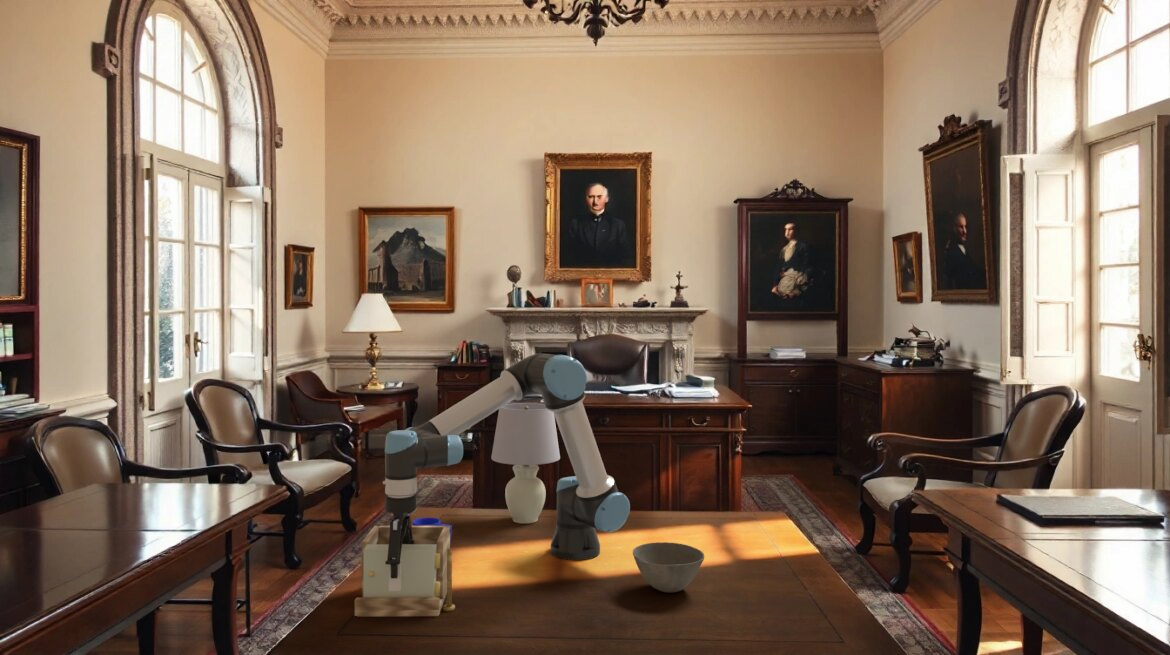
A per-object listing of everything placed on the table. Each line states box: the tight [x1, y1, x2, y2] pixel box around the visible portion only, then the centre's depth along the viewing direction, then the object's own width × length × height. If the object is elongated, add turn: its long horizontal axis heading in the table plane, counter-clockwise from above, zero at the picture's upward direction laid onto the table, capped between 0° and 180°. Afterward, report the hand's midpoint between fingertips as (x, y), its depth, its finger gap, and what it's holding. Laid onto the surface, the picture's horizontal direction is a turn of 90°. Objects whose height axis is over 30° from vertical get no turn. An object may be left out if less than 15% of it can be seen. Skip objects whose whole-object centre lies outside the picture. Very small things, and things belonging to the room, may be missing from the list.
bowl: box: [632, 541, 705, 593], centre depth 208 cm, size 19×19×10 cm
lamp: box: [490, 402, 561, 525], centre depth 273 cm, size 24×24×40 cm
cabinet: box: [354, 525, 456, 617], centre depth 199 cm, size 23×21×16 cm
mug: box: [412, 517, 453, 542], centre depth 235 cm, size 8×12×10 cm
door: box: [363, 544, 440, 598], centre depth 192 cm, size 18×5×14 cm, turn 93°
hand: (400, 580), depth 192 cm, fingers open, 13 cm apart
